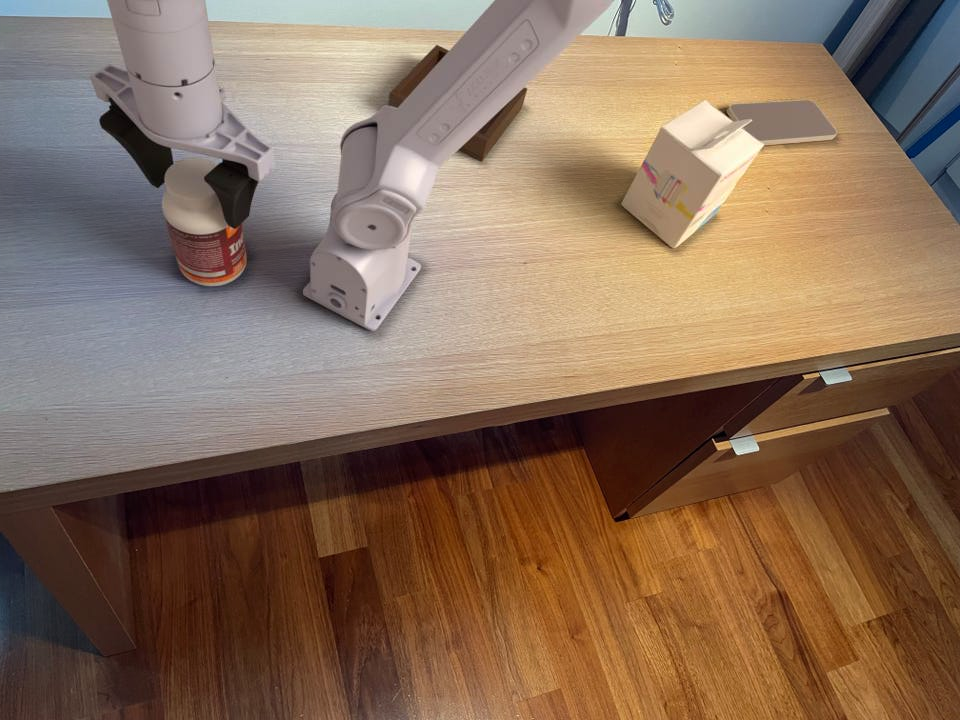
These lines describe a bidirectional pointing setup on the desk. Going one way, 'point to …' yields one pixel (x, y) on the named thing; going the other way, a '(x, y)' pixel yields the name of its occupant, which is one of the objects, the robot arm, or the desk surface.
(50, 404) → the desk surface
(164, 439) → the desk surface
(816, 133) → the smartphone
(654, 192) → the ink box
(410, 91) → the tray
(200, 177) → the pill bottle
